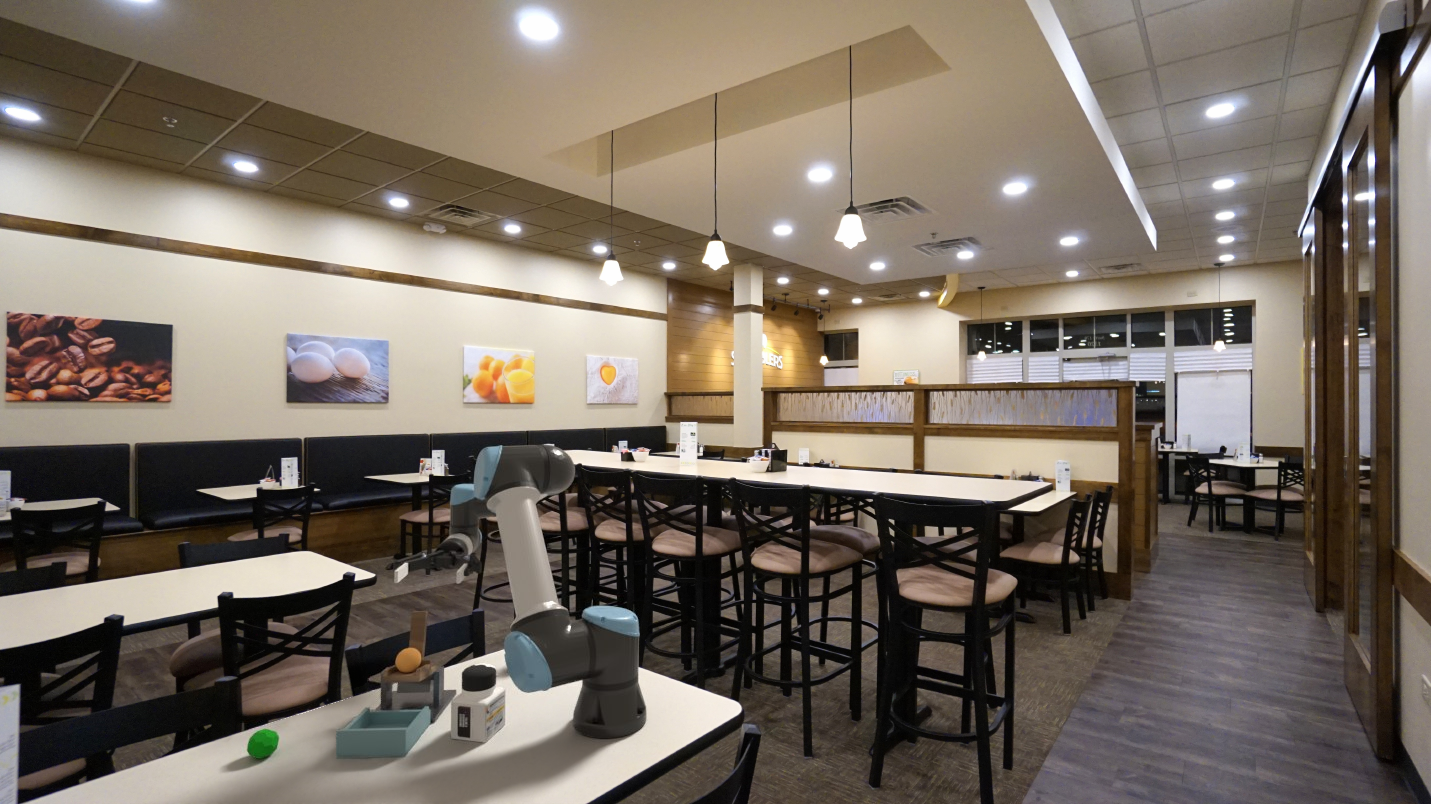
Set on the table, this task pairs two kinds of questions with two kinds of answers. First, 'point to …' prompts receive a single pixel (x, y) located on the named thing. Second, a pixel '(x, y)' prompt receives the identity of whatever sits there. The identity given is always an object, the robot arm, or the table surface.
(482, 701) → the container
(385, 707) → the stand
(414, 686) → the brown wooden catapult
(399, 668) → the ball
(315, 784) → the table surface
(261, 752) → the polyhedron
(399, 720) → the tray
